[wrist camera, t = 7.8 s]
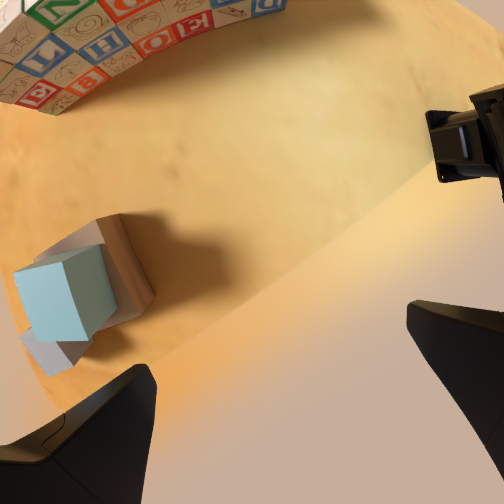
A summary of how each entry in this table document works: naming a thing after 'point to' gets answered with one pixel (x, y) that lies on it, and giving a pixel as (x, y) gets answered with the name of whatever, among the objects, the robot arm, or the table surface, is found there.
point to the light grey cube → (54, 352)
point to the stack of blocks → (96, 41)
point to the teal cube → (67, 294)
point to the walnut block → (113, 266)
